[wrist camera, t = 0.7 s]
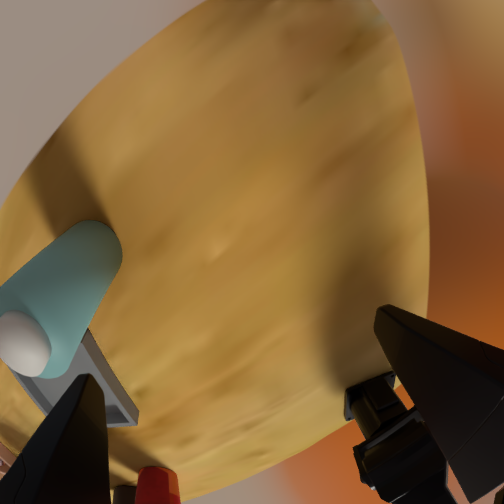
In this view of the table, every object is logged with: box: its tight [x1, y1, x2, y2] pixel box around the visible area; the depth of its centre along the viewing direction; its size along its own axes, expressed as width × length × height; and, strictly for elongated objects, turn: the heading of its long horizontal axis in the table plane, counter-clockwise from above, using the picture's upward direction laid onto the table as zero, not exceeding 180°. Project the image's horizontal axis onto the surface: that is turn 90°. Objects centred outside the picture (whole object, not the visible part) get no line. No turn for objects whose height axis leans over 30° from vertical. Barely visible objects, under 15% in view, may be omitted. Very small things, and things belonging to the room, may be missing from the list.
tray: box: [7, 329, 139, 427], centre depth 23 cm, size 11×11×2 cm
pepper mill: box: [0, 220, 122, 379], centre depth 15 cm, size 5×5×12 cm
